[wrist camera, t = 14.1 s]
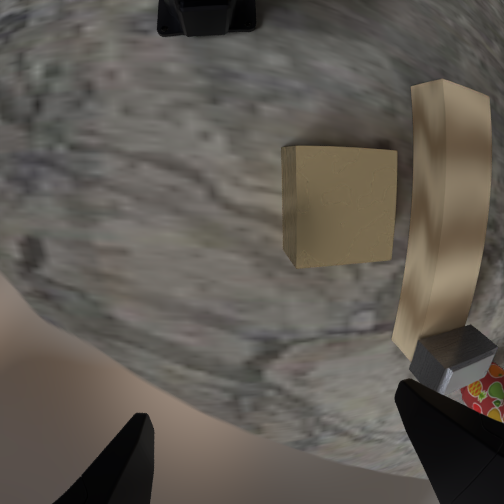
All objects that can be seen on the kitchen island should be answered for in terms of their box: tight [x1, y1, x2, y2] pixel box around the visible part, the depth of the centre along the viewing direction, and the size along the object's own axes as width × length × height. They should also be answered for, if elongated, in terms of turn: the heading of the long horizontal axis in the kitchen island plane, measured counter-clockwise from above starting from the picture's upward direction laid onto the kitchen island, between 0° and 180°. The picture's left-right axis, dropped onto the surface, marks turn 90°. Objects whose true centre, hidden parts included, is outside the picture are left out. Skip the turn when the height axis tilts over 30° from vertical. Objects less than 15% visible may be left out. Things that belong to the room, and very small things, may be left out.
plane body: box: [391, 79, 492, 362], centre depth 20 cm, size 22×6×4 cm, turn 2°
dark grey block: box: [409, 324, 498, 395], centre depth 19 cm, size 3×6×4 cm, turn 92°
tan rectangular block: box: [281, 146, 397, 269], centre depth 19 cm, size 7×6×4 cm
